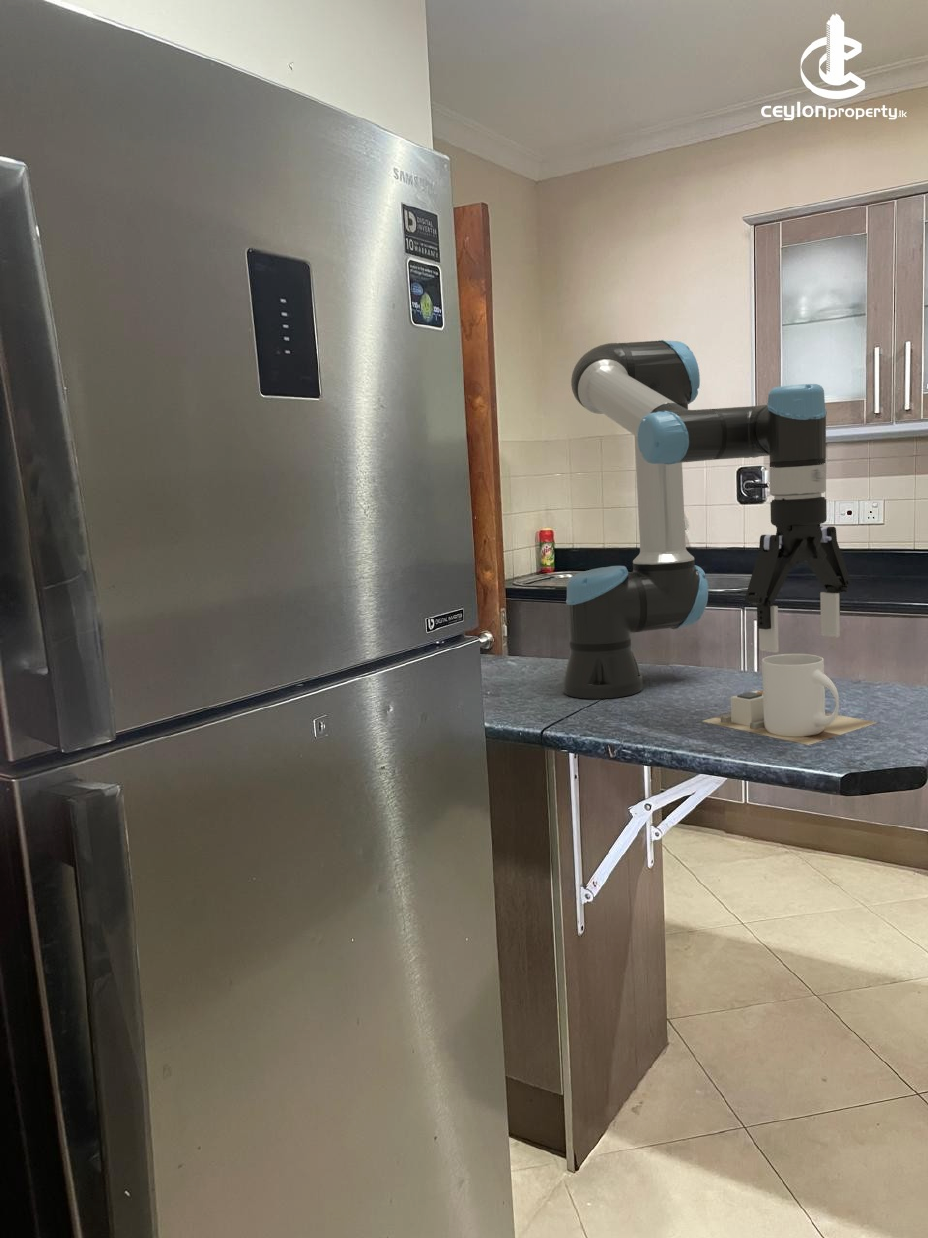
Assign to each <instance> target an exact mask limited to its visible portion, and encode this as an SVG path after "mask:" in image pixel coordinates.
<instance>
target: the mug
mask: <svg viewBox="0 0 928 1238" xmlns="http://www.w3.org/2000/svg"><path fill="white" fill-rule="evenodd" d="M761 673H762V675H761V677H762V691H763V708H764V725H765V728H766V730H767V731H768V732H770V733H772V734H775V735H780V736H788V737H804V736H811V735H816V734H819V733H821V732H822V731H823V730H824V728H825V726H827V725H829V724H831V723H832V722H833V721H834V720H835V719H836V717H837V715H839V710H840V709H839V708H840V696H839V691H838V689H837V687H836V685H835V684H834V682H833V681H832V680H831V678H829V676H827V675H826V674H825V659H824V658H823V657H822V656H819V655H815V654H808V653H781V654H774V655H768V656H766V657H763V658H762V659H761ZM825 688H827V690H829V691H830V692H831V694H832V696H833V698H834V700H835V708H834V711H833V712H832V713H831V714H832V715H830V716H825V713H826V696H825V695H826V692H825V691H826V690H825Z"/></svg>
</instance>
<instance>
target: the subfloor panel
mask: <svg viewBox="0 0 928 1238" xmlns="http://www.w3.org/2000/svg"><path fill="white" fill-rule="evenodd" d="M832 714H833V713H828V712H825V716H830V715H832ZM701 722H702V723H706V724H712V725H716V726H721V727H723V728H724V727H726V728H729V729H735V730H739V731H743V732H747V733H748V732H749V733H753V734H756V735H761V736H765V737H769V738H775V739H779V740H782V741H787V742H791V743H797V744H801V745H806V746H811V745H814V744H817V743H821V742H823V741H826V740H829V739H832V738H835V737H839V736H841V735H844V734H848V733H851V732H854V731H856V730H860V729H864V728H866V727H869V726H872V725H876V724H878V723H879V722H878V721H873V720H867V719H866V720H865V719H861V718H856V717H849V716H845V715H840V714H837V717H836V719H835V720H834V721H833V722H832V723H831V724H829V725H827V726H825V728H824V730H823V731H822V732H821V733H819V734H816V735H811V736H804V737H788V736H780V735H775V734H772V733H770V732H768V731H767V730H766V728H765V725H764V719H763V720H760V721H756V722H753V723H750V726H747V725H742V724H737V723H733V722H731V712H729V713H726V714H722V715H718V716H714V717H712V718H708V719H704V720H702V721H701Z"/></svg>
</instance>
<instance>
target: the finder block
mask: <svg viewBox="0 0 928 1238" xmlns="http://www.w3.org/2000/svg"><path fill="white" fill-rule="evenodd" d="M729 700H730V701H729V702H730V713H731V722H733V723H737V724H742V725H747V726H750V723H753V722H756V721H760V720H763V719H764V708H763V690H752V691H748V692H744V693H740V694H737V695H733V696H730V699H729Z"/></svg>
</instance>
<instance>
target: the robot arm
mask: <svg viewBox="0 0 928 1238" xmlns="http://www.w3.org/2000/svg"><path fill="white" fill-rule="evenodd" d="M697 361H698V360H697V359H696V357H695V354H694V352H693V351H692V350H691V348H690V347H689V345H687V344H685V342H682V341H678V340H664V339H661V340H660V339H659V340H651V341H635V342H633V341H631V342H610V343H605V344H600V345H597V346H596V347H593V348H591V349H590V350H588V351H586V353H584V354H583V355H582V356H581V357H580V358H579V360H578V361H577V362H576V363H575V366H574V368H573V370H572V374H571V378H570V380H571V381H570V383H571V385H570V386H571V390H572V393H573V396H574V398H575V399H576V401H577V402H578V403H579V404H580V405H581V406H582V407H583V408H584V409H586V410H587V411H589V412H591V413H593V414H598V415H604V416H606V417H608V418H609V419H611V421H614V422H615V423H616V424H617V425H619V426H620V427H622V428H623V429H625V430H626V431H628V432H629V433H630V434H631V435H634V451H635V453H634V454H635V455H634V456H635V471H636V474H635V475H636V491H637V492H636V495H637V496H636V497H637V509H638V510H637V512H638V532H639V533H638V534H639V554H638V555H637V556H636V557H635V558H634V559H633V560H632V568H633V570H632V571H628V569H627V566H625V565H610V566H605V567H604V566H603V567H597V568H592V569H589V570H588V569H587V570H585V571H582V572H578V573H576V574H573V576H571V577H570V578H569V579H568V580H567V583H566V600H565V603H566V608H567V621H568V636H569V638H568V639H569V650H570V651H569V657H568V661H567V665H566V670H565V675H564V678H563V682H562V687H563V688H562V689H563V694H565V695H567V696H569V697H573V698H578V699H579V698H580V699H594V700H595V699H597V700H598V699H600V700H601V699H614V698H621V697H626V696H627V697H628V696H631V695H635V694H638V693H639V692H642V691H643V689H644V685H643V676H642V673H640V670H639V666H638V663H637V660H636V658H635V656H634V652H633V650H632V636H631V635H632V634H634V633H642V632H649V631H658V630H667V629H672V630H677V629H679V628H682V627H683V628H684V627H687V626H692V625H694V624H696V623H698V622H699V620H700V619H701V617H702V616H703V615H704V613H705V610H706V608H707V604H708V599H709V584H708V579H706V573H705V571H704V570H703V568H702V567H700V566H698V565H695V556H693V555H692V554H691V553H690V552H689V551H688V550H687V547H686V526H685V525H686V523H685V504H684V503H685V501H684V478H683V474H684V473H683V463H690V462H691V463H693V462H703V461H704V462H705V461H717V460H730V459H749V458H753V459H754V458H758V457H769V495H771V496H772V497H774V499H771V501H770V507H769V508H770V523H771V525H773V526H775V528H776V532H775V534H761V535H760V537H759V547H758V549H759V551H758V554H757V555H756V556H757V558H756V560H755V563H754V567H753V570H752V574H751V577H750V581H749V584H748V586H747V591H746V593H745V598H744V600H745V602H746V603H748V604H750V606H756V623H757V624H756V625H757V628H758V630H759V631H758V634H759V635H758V636H759V638H758V639H759V651H763V652H770V653H779V651H780V650H779V646H780V645H779V644H780V643H779V606H777V605H774V604H775V601H776V599H777V598H778V595H779V593H780V591H781V589H782V587H783V585H784V583H785V581H786V579H787V577H788V575H789V573H790V571H791V569H792V568H794V567H796V565H797V564H802V563H803V562H806V563H807V564H808V566H809V567H810V569H811V571H812V572H813V574H814V575H815V577H816V579H817V580H818V581H819V583H820V585H821V586H822V588H823V589H824V591H821V592H820V593H819V595H820V596H819V597H820V598H819V599H820V603H819V604H820V636H823V637H830V638H839V637H840V634H841V633H840V632H841V631H840V630H841V628H840V627H841V625H840V619H841V618H840V616H841V615H840V612H841V593H845V594H846V593H847V592H848V589H849V587H850V585H851V583H852V581H851V578H850V575H849V572H848V570H847V567H846V563H845V561H844V558H843V555H842V551H841V549H840V546H839V543H838V537H837V536H838V535H837V528H836V526H827V525H826V526H821V525H822V524H824V523H826V521H827V511H828V510H827V508H828V506H827V505H828V504H827V499H826V497H825V496H822V494H824V493H826V491H827V479H826V477H827V475H826V473H827V472H826V457H827V454H826V453H827V409H826V404H825V403H826V401H825V400H826V398H825V390H824V388H823V386H821V385H820V384H817V383H803V384H791V385H783V386H782V385H781V386H776V387H773V388H772V389H771V390H770V391H769V392H768V398H767V404H761V405H751V406H736V407H735V406H734V407H720V408H705V409H702V408H701V409H689V405H690V404H691V403H692V402H694V401H695V400H696V398H697V396H698V395H699V389H700V382H701V377H700V375H701V374H700V369H699V366H698V365H699V364H698V362H697Z"/></svg>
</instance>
